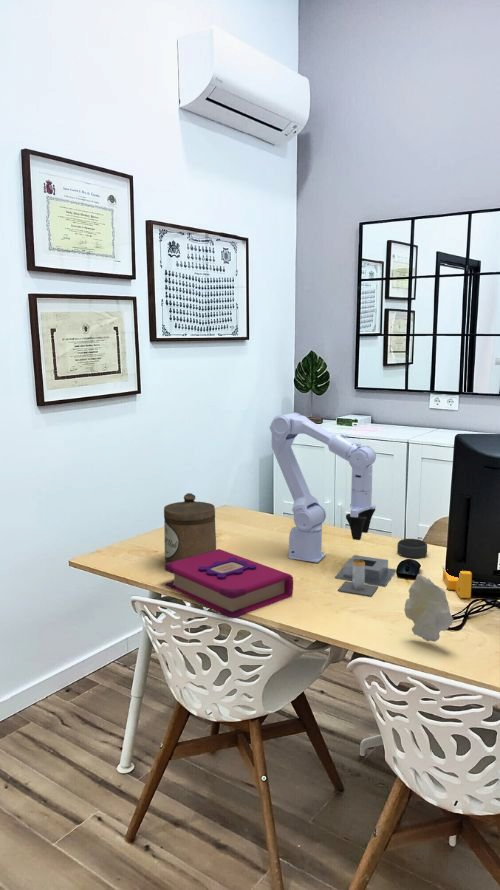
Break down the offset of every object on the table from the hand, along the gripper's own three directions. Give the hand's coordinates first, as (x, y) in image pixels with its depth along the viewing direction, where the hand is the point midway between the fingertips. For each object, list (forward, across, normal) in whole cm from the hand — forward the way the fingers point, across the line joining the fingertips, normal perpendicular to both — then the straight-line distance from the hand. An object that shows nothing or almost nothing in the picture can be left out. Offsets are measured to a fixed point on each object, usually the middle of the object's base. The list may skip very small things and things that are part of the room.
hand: (360, 535), depth 185 cm
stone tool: (+10, -38, -26) cm, 47 cm away
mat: (+10, -16, -4) cm, 19 cm away
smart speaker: (+10, +20, -11) cm, 25 cm away
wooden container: (+10, -20, +45) cm, 50 cm away
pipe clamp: (+10, -4, -27) cm, 29 cm away
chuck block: (+10, -4, -3) cm, 11 cm away
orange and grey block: (+10, -16, -4) cm, 19 cm away
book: (+11, -32, +26) cm, 43 cm away
